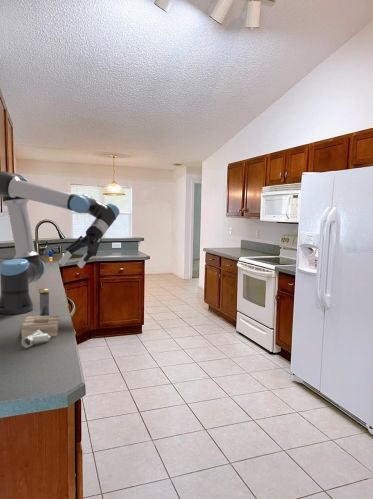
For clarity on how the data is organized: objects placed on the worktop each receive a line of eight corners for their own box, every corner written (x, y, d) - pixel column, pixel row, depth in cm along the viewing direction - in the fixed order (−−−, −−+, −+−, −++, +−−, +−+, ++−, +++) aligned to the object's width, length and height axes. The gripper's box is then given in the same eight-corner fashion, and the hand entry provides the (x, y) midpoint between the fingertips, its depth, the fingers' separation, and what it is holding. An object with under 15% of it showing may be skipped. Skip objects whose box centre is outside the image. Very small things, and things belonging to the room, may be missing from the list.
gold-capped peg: (39, 318, 150) (39, 288, 149) (50, 317, 152) (50, 288, 150) (38, 321, 146) (38, 290, 145) (49, 320, 147) (49, 290, 146)
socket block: (26, 326, 139) (26, 316, 138) (58, 324, 142) (58, 315, 142) (21, 338, 125) (21, 327, 125) (57, 335, 129) (56, 325, 129)
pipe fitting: (51, 342, 124) (33, 339, 125) (52, 331, 124) (34, 329, 125) (40, 350, 117) (21, 347, 117) (41, 339, 116) (21, 336, 117)
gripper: (118, 237, 160) (92, 273, 149) (85, 235, 175) (59, 267, 164) (109, 225, 155) (81, 262, 145) (76, 224, 170) (48, 257, 160)
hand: (69, 265), depth 155 cm, fingers open, 13 cm apart
